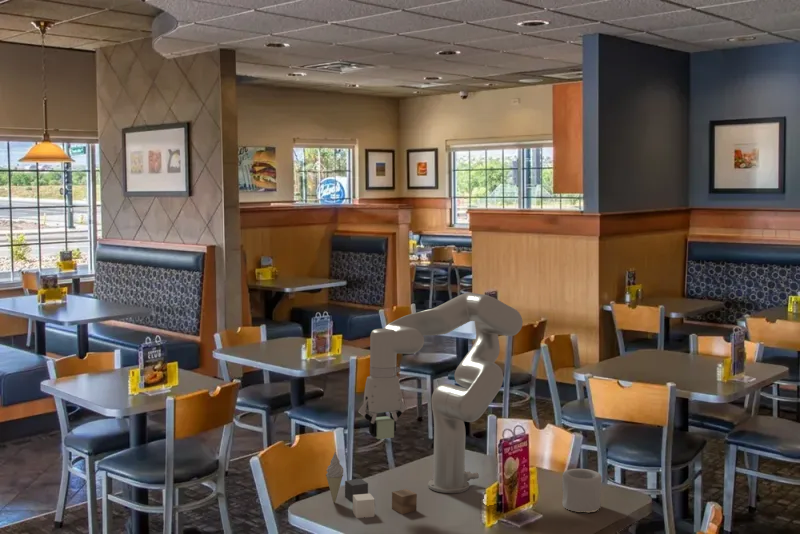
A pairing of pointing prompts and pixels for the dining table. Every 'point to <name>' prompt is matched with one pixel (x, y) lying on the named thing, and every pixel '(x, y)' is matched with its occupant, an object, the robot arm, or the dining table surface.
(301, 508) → the dining table surface
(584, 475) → the mug
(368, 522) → the dining table surface
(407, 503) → the walnut block
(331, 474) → the ice cream cone
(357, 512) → the offwhite block
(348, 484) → the black block
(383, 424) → the sage block
